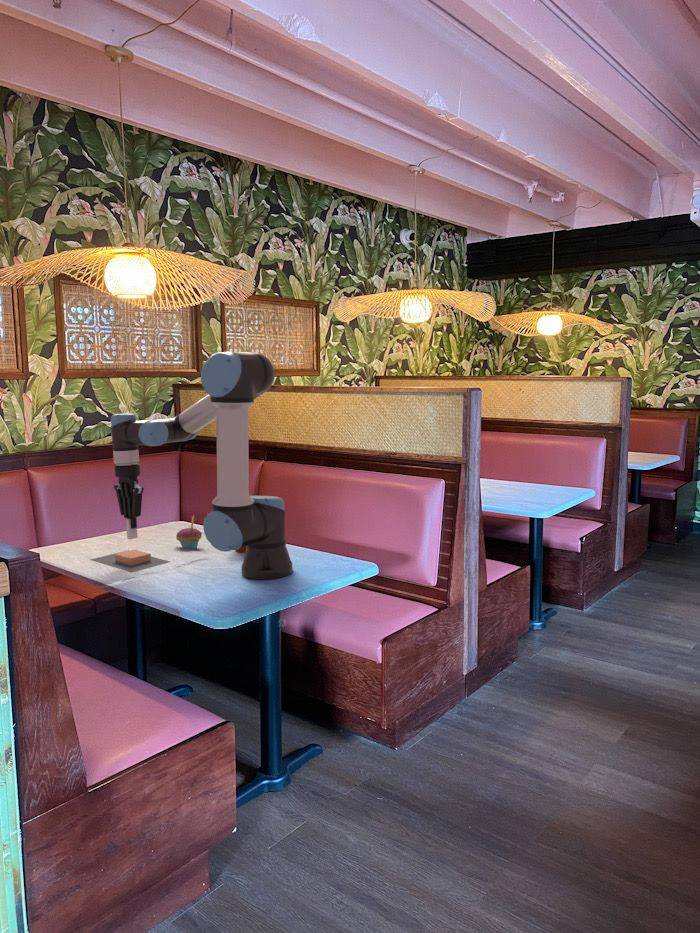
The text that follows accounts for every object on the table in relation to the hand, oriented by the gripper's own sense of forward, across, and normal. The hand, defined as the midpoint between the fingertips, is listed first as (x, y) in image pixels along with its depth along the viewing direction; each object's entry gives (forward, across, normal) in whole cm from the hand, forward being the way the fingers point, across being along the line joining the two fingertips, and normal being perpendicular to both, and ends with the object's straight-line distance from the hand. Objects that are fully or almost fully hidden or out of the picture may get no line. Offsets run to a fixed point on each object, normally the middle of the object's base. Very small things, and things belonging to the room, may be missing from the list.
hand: (132, 538), depth 215 cm
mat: (+9, +2, 0) cm, 9 cm away
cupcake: (+9, +2, -23) cm, 25 cm away
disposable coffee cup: (+9, -15, -33) cm, 37 cm away
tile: (+6, +5, 0) cm, 8 cm away
